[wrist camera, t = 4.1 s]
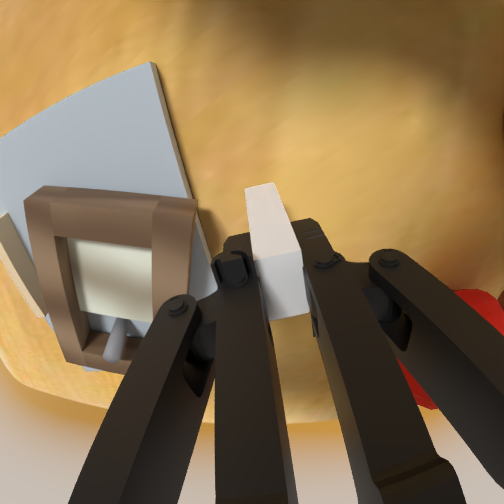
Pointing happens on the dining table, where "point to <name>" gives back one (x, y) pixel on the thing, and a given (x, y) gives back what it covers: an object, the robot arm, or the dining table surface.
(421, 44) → the dining table surface
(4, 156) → the wall panel
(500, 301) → the bread roll
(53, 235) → the walnut frame
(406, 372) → the tomato
